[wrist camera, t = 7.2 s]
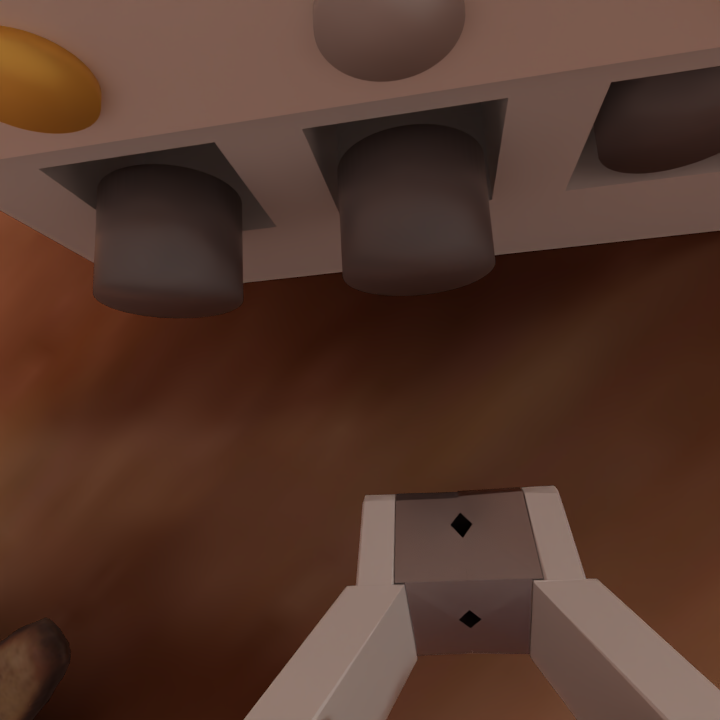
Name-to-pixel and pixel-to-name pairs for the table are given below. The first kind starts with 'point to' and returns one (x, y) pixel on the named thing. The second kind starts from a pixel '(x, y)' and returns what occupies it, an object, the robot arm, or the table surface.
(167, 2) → the console
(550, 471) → the table surface
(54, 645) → the oil lamp
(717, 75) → the button
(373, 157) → the button
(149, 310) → the button
